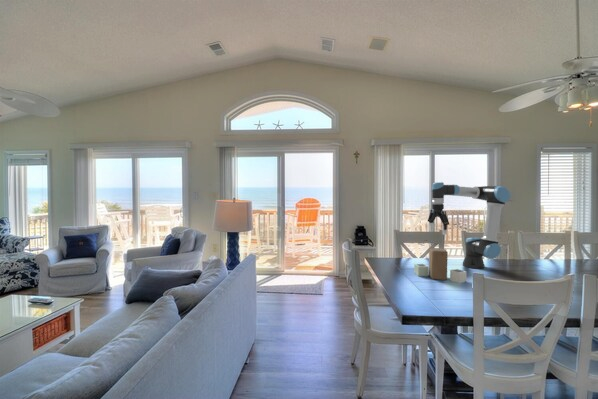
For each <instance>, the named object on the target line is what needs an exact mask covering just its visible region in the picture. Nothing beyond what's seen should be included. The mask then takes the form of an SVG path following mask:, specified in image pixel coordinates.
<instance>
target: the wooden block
mask: <svg viewBox="0 0 598 399" xmlns="http://www.w3.org/2000/svg"><path fill="white" fill-rule="evenodd" d="M448 252H449V251H447V250H446V249H445V248H435V247H433V248H432V247H431V248H429V255H428V257H429V259H428V261H429V262H428V277H430V278H431V279H432V280H439V281H440V280H441V281H442V280H443V281H447V279H448V256H449V254H448Z"/></svg>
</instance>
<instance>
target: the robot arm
mask: <svg viewBox="0 0 598 399" xmlns="http://www.w3.org/2000/svg"><path fill="white" fill-rule="evenodd" d="M430 190H431V193H432V194H431V195H432V196H431V197H432V199H431V201H432V202H431V203H432V205H431V207H432V208H431V209H430V210H429V211H430V213H429V216H428V219H427V222H428V223H429V232H432V233H433V232H435V225H434V224H435V223H434V221H435V220H436V218H439V219H440V222H441V223H442V235H443V236H445V235H447V230H448V226H449V225H450V221H449V218H448V215H447V210H446V211H445V209H444V208H445V207H444V205H445V204H444V203H445V202H444V201H445V196H454V197H455V196H456V197H463V198H464V197H467V198H472V199H475V200H481V201H486V204H487V212H486V218H485V224H484V229H483V235H482V237H467V238H466V240H465V256H464V259H463V262H462V266H464V267H466V268H468V269H469V268H470V269H476V270H477V269H480V270H481V269H485V262H484V259H483V257H485V258H487V259H496V258H497V257H499V256H500V254H501V252H502V247H501V246H500V244H499V240H498V239H497V237H498V232H499V226H500V220H501V215H502V208H503V207H504V206H505V204H506V202H508V201H509V200H510V198H511V192H510V190H509V189H508V188H507V187H506V186H500V185H487V186H486V185H484V186H483V185H482V186H473V187H471V186H459V185H457V184H444V182H443V181H441V182H433V183H432V185H431V189H430Z"/></svg>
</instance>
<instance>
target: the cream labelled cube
mask: <svg viewBox="0 0 598 399" xmlns="http://www.w3.org/2000/svg"><path fill="white" fill-rule="evenodd" d="M449 281H452V282H453V283H454V282H455V283H457V284H462V282H463V283H465V281H466V282H467V270H466V271H465V270H462V269H458V268H455V269H450V272H449Z"/></svg>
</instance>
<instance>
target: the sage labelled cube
mask: <svg viewBox="0 0 598 399" xmlns="http://www.w3.org/2000/svg"><path fill="white" fill-rule="evenodd" d="M413 267H414V268H413V269H414V270H413V274H414V275H416V276H417V277H429V265H427V264H424V263H414V266H413Z"/></svg>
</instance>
